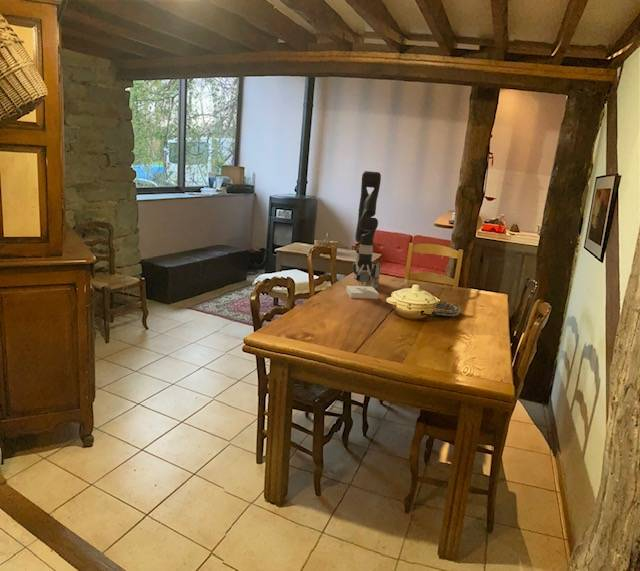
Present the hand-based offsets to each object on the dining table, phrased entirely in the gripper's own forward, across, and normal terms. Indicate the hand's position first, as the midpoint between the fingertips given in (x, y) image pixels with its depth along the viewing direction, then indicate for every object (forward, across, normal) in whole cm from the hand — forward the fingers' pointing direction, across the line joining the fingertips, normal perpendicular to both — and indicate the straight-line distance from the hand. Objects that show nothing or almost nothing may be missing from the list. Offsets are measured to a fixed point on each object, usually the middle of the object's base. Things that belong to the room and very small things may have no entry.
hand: (363, 281), depth 278 cm
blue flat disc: (+9, -36, +31) cm, 48 cm away
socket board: (+8, 0, 0) cm, 8 cm away
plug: (+2, 0, 0) cm, 2 cm away
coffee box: (+8, -9, -19) cm, 23 cm away
